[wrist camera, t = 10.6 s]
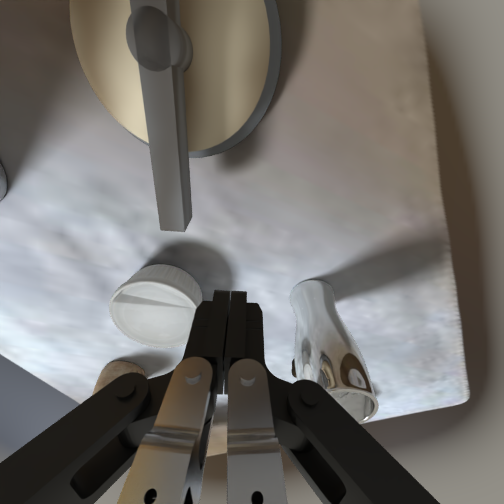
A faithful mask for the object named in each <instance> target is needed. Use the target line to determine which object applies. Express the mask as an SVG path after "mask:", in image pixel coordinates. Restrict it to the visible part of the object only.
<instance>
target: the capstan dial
mask: <svg viewBox="0 0 504 504" xmlns="http://www.w3.org/2000/svg"><path fill="white" fill-rule="evenodd" d="M69 11H70V23H71V30H72V35H73V41H74V44H75V48H76V51H77V55H78V58H79V61H80V63H81V66H82V68H83V71H84V73H85V75H86V77H87V79H88V81H89V83H90V85H91V87H92V89H93V90H94V92H95V94H96V95H97V97H98V98H99V100H100V101H101V103H102V104H103V105H104V106H105V108H106V109H107V110H108V112H109V113H110V114H111V115H112V116H113V117H114V118H115V119H116V120H117V121H118V122H119V123H120V124H121V125H122V126H124V127H125V128H126V129H127V130H128V131H130V132H131V133H132V134H134V135H135V136H137V137H138V138H140V139H142V140H144V141H145V142H147V143H149V148H150V155H151V162H152V170H153V177H154V185H155V192H156V199H157V207H158V214H159V222H160V229H161V230H164V231H178V232H185V230H186V228H187V226H188V224H189V222H190V220H191V219H192V204H191V187H190V171H189V154H188V152H193V151H200V150H204V149H208V148H211V147H213V146H216V145H218V144H220V143H222V142H223V141H225V140H227V139H228V138H230V137H231V136H232V135H233V134H234V133H236V132H237V131H238V130H239V129H240V128H241V127H242V126H243V124H244V123H245V122H246V121H247V120H248V118H249V117H250V115H251V114H252V112H253V111H254V109H255V107H256V105H257V103H258V101H259V99H260V96H261V93H262V90H263V88H264V84H265V80H266V76H267V72H268V64H269V56H270V35H269V23H268V18H267V12H266V7H265V3H264V0H69Z"/></svg>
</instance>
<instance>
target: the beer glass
mask: <svg viewBox="0 0 504 504" xmlns="http://www.w3.org/2000/svg"><path fill="white" fill-rule="evenodd" d="M289 300H290V304H291V307H292V309H293V312H294V314H295V319H296V331H295V347H294V359H295V369H296V376H297V381H298V380H302V379H307V380H312V381H314V382H316V383H318V384H319V385H321V386H322V387H323V388H324V389H325V390H326V391H327V392H328V393H329V394H330V395H331V396H332V397H333V398H334V399H335V400H336V401H337V402H338V403H339V404H340V405H341V406H342V407H343V408H344V409H345V410H346V411H347V412H348V413H349V414H350V415H351V416H352V417H353V418H354V419H355V420H356V421H357V422H358V423H359V424H361V423H363V422H365V421H367V420H369V419H370V418H372V417H373V416H374V415H375V414H376V412H377V410H378V401H377V399H376V396H375V393H374V389H373V386H372V382H371V379H370V376H369V372H368V370H367V367H366V364H365V361H364V358H363V356H362V354H361V352H360V349H359V347H358V345H357V343H356V342H355V340H354V338H353V336H352V335H351V333H350V331H349V330H348V328H347V327H346V325H345V323H344V322H343V320H342V319H341V317H340V315H339V313H338V311H337V308H336V304H335V295H334V291H333V289H332V287H331V286H330V285H329V284H328V283H326V282H324V281H321V280H307V281H304V282H301V283H299V284H298V285H296V286H295V287H294V288H293V289H292V291H291V293H290V297H289Z"/></svg>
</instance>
